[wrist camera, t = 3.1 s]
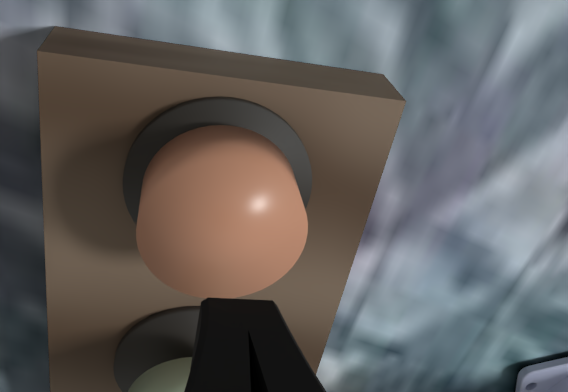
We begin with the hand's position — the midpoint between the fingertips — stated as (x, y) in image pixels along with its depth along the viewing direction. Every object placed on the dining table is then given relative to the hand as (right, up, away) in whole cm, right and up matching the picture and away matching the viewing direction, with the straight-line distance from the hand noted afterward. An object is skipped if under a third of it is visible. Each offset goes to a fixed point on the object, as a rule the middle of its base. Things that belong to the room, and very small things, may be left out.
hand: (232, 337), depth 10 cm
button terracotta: (-1, +3, +4) cm, 5 cm away
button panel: (-2, -2, +10) cm, 10 cm away
